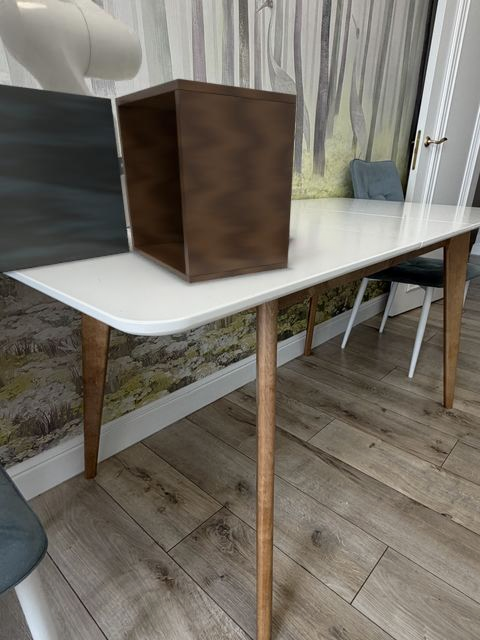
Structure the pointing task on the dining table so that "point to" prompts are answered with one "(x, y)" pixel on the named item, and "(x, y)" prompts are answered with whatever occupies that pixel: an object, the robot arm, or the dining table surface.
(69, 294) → the dining table surface
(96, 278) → the dining table surface
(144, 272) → the dining table surface
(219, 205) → the cupboard
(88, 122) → the door
